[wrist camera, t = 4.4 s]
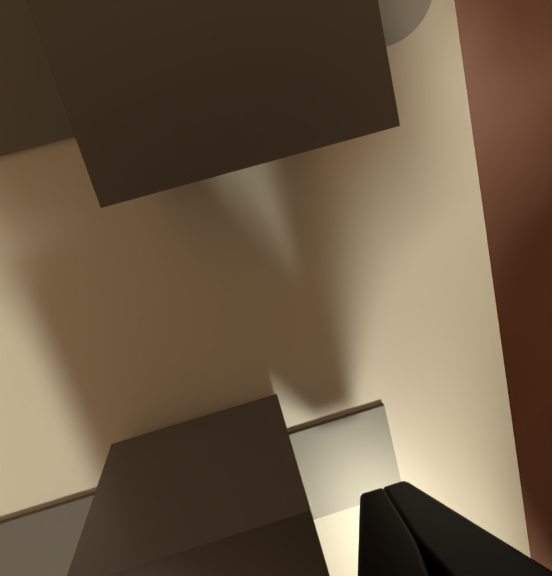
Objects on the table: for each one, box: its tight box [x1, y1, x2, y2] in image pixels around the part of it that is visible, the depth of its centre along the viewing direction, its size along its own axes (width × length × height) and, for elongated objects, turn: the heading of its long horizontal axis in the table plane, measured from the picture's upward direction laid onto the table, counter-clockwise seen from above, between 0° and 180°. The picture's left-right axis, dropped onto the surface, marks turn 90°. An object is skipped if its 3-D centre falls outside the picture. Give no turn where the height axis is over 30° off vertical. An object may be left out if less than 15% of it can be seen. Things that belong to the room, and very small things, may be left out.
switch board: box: [0, 0, 531, 576], centre depth 8 cm, size 14×28×2 cm, turn 15°
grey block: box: [67, 394, 330, 576], centre depth 8 cm, size 3×4×3 cm
